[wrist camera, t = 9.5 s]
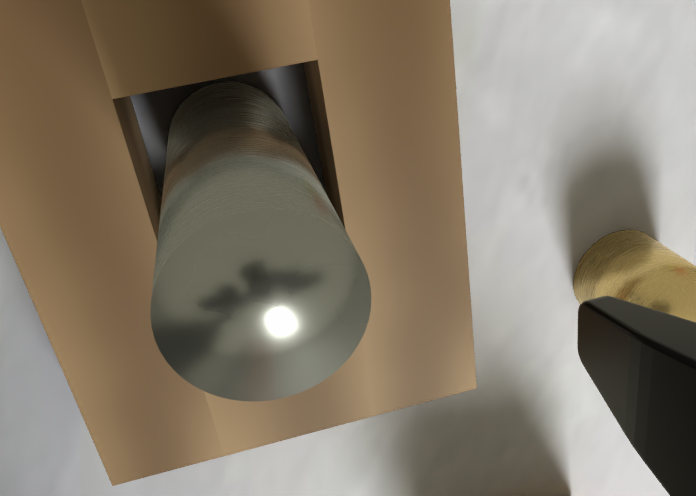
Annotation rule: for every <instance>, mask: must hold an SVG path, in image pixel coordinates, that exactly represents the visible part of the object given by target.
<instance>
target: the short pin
mask: <svg viewBox="0 0 696 496" xmlns="http://www.w3.org/2000/svg"><path fill="white" fill-rule="evenodd" d="M573 287H574V293H575V296H576V299H577V300H578V302H579V303H580V304H581V303H582V302H584V301H586V300H590V299H594V298H598V297H602V296H612V297H615V298H618V299H621V300H625V301H628V302H631V303H634V304H638V305H641V306H644V307H647V308H651V309H654V310H657V311H661V312H664V313H667V314H670V315H674V316H677V317H680V318H683V319H687V320H690V321H693V322H696V266H694V265H693V264H691V263H690V262H688V261H687V260H685V259H684V258H682V257H681V256H679V255H678V254H676V253H674V252H673V251H671V250H670V249H668V248H667V247H665V246H664V245H662V244H661V243H659V242H658V241H656V240H654V239H653V238H651V237H650V236H648V235H647V234H645V233H643V232H641V231H637V230H622V231H618V232H614V233H612V234H609V235H607V236H605V237H603V238H602V239H600V240H599V241H597V242H596V243H595V244H594V245H593V246H592V247H591V248H590V249H589V250H588V251H587V252H586V253H585V254H584V256H583V257H582V259H581V260H580V262H579V264H578V266H577V269H576V272H575V275H574V282H573Z"/></svg>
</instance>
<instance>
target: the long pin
mask: <svg viewBox="0 0 696 496" xmlns="http://www.w3.org/2000/svg"><path fill="white" fill-rule="evenodd" d="M370 312H371V286H370V282H369V278H368V274H367V271H366V269H365V266H364V264H363V262H362V260H361V258H360V256H359V254H358V252H357V251H356V249H355V247H354V245H353V243H352V241H351V239H350V237H349V236H348V234H347V232H346V230H345V228H344V226H343V224H342V222H341V221H340V219H339V217H338V215H337V213H336V211H335V209H334V207H333V206H332V204H331V202H330V200H329V198H328V196H327V194H326V192H325V191H324V189H323V187H322V185H321V183H320V181H319V179H318V178H317V176H316V174H315V172H314V170H313V168H312V166H311V164H310V163H309V161H308V159H307V157H306V155H305V153H304V151H303V149H302V148H301V146H300V144H299V142H298V140H297V138H296V136H295V134H294V133H293V131H292V129H291V127H290V125H289V123H288V121H287V119H286V118H285V116H284V114H283V112H282V111H281V109H280V108H279V106H278V105H277V104H276V103H275V102H274V101H273V100H272V99H271V98H270V97H269V96H268V95H267V94H265V93H264V92H262V91H261V90H259V89H257V88H255V87H252V86H250V85H247V84H243V83H237V82H220V83H214V84H211V85H207V86H205V87H203V88H200V89H199V90H197V91H195V92H194V93H192V94H191V95H190V96H189V97H187V98H186V99H185V100H184V101H183V102H182V104H181V105H180V106H179V108H178V109H177V111H176V113H175V115H174V116H173V119H172V122H171V125H170V130H169V137H168V146H167V156H166V165H165V175H164V184H163V193H162V203H161V212H160V221H159V231H158V240H157V250H156V259H155V268H154V278H153V287H152V297H151V310H150V317H151V327H152V331H153V335H154V339H155V341H156V343H157V346H158V348H159V350H160V352H161V354H162V355H163V357H164V358H165V360H166V362H167V363H168V364H169V365H170V366H171V367H172V369H173V370H174V371H175V372H176V373H177V374H179V375H180V376H181V377H182V378H183V379H184V380H186V381H187V382H189V383H190V384H192V385H193V386H195V387H197V388H199V389H201V390H203V391H205V392H207V393H210V394H212V395H215V396H218V397H222V398H226V399H231V400H238V401H268V400H275V399H280V398H285V397H288V396H292V395H295V394H298V393H300V392H303V391H305V390H307V389H310V388H312V387H313V386H315V385H317V384H319V383H320V382H322V381H324V380H325V379H326V378H328V377H329V376H331V375H332V374H333V373H334V372H336V371H337V370H338V369H339V368H340V367H341V366H342V365H343V364H344V363H345V362H346V361H347V360H348V358H349V357H350V356H351V355H352V353H353V352H354V351H355V349H356V348H357V346H358V345H359V343H360V341H361V339H362V337H363V335H364V333H365V330H366V327H367V324H368V321H369V316H370Z"/></svg>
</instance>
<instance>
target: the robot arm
mask: <svg viewBox="0 0 696 496" xmlns="http://www.w3.org/2000/svg"><path fill="white" fill-rule="evenodd" d="M578 353H579V356H580V359H581V362H582V364H583V365H584V367H585V369H586V370H587V372H588V374H589V375H590V377H591V379H592V380H593V382H594V384H595V385H596V387H597V389H598V390H599V392H600V393H601V395H602V397H603V398H604V400H605V402H606V403H607V405H608V407H609V408H610V410H611V412H612V413H613V415H614V417H615V418H616V420H617V422H618V423H619V425H620V426H621V428H622V430H623V431H624V433H625V435H626V436H627V438H628V439H629V441H630V442H631V444H632V445H633V447H634V448H635V450H636V451H637V453H638V454H639V455H640V457H641V458H642V459H643V461H644V462H645V463H646V465H647V466H648V467H649V469H650V470H651V471H652V473H653V474H654V475H655V476H656V478H657V479H658V480H659V482H660V483H661V484H662V486H663V487H664V488H665V490H666V491H667V492H668V493H669V495H670V496H696V322H693V321H690V320H687V319H683V318H680V317H677V316H674V315H670V314H667V313H664V312H661V311H657V310H654V309H651V308H647V307H644V306H641V305H638V304H634V303H631V302H628V301H625V300H621V299H618V298H615V297H612V296H602V297H598V298H594V299H590V300H586V301H584V302H582V303H581V304H580V306H579V310H578Z"/></svg>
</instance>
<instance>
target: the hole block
mask: <svg viewBox="0 0 696 496" xmlns="http://www.w3.org/2000/svg"><path fill="white" fill-rule="evenodd" d="M298 63H303V64H304V70H305V75H306V81H307V87H308V93H309V98H310V104H311V110H312V116H313V121H314V127H315V133H316V139H317V144H318V150H319V156H320V162H321V168H322V173H323V179H324V185H325V191H326V194H327V196H328V198H329V200H330V202H331V204H332V206H333V207H334V209H335V211H336V213H337V215H338V217H339V219H340V221H341V222H342V224H343V226H344V228H345V230H346V232H347V234H348V236H349V237H350V239H351V241H352V243H353V245H354V247H355V249H356V251H357V252H358V254H359V256H360V258H361V260H362V262H363V264H364V266H365V269H366V271H367V274H368V278H369V282H370V286H371V312H370V316H369V321H368V324H367V327H366V330H365V333H364V335H363V337H362V339H361V341H360V343H359V345H358V346H357V348H356V349H355V351H354V352H353V353H352V355H351V356H350V357H349V358H348V360H347V361H346V362H345V363H344V364H343V365H342V366H341V367H340V368H339V369H338V370H337V371H336V372H334V373H333V374H332V375H331V376H329V377H328V378H326V379H325V380H324V381H322V382H320V383H319V384H317V385H315V386H313V387H312V388H310V389H307V390H305V391H303V392H300V393H298V394H295V395H292V396H288V397H285V398H280V399H275V400H268V401H238V400H231V399H226V398H222V397H218V396H215V395H212V394H210V393H207V392H205V391H203V390H201V389H199V388H197V387H195V386H193V385H192V384H190V383H189V382H187V381H186V380H184V379H183V378H182V377H181V376H180V375H179V374H177V373H176V372H175V371H174V370H173V369H172V367H171V366H170V365H169V364H168V363H167V362H166V360H165V358H164V357H163V355H162V354H161V352H160V350H159V348H158V346H157V343H156V341H155V339H154V335H153V331H152V327H151V317H150V310H151V297H152V287H153V278H154V268H155V259H156V250H157V240H158V231H159V221H160V212H161V203H162V201H161V197H160V194H159V191H158V187H157V184H156V181H155V177H154V174H153V171H152V168H151V164H150V161H149V158H148V154H147V151H146V148H145V144H144V141H143V138H142V134H141V131H140V128H139V124H138V121H137V118H136V114H135V111H134V108H133V104H132V101H131V98H130V96H131V95H137V94H142V93H147V92H152V91H157V90H163V89H168V88H173V87H178V86H183V85H189V84H194V83H199V82H204V81H209V80H215V79H220V78H225V77H230V76H235V75H241V74H246V73H251V72H256V71H261V70H267V69H272V68H277V67H282V66H287V65H292V64H298ZM0 227H1V229H2V232H3V234H4V236H5V239H6V241H7V243H8V246H9V248H10V250H11V252H12V255H13V257H14V259H15V262H16V264H17V266H18V269H19V271H20V273H21V276H22V278H23V280H24V282H25V285H26V287H27V289H28V292H29V294H30V296H31V299H32V301H33V303H34V306H35V308H36V310H37V312H38V315H39V317H40V319H41V322H42V324H43V326H44V329H45V331H46V333H47V336H48V338H49V340H50V342H51V345H52V347H53V349H54V352H55V354H56V356H57V359H58V361H59V363H60V366H61V368H62V370H63V372H64V375H65V377H66V379H67V382H68V384H69V386H70V389H71V391H72V393H73V396H74V398H75V400H76V402H77V405H78V407H79V409H80V412H81V414H82V416H83V419H84V421H85V423H86V426H87V428H88V430H89V432H90V435H91V437H92V439H93V442H94V444H95V446H96V449H97V451H98V453H99V456H100V458H101V460H102V462H103V465H104V467H105V469H106V472H107V474H108V476H109V479H110V481H111V483H112V486H114V485H117V484H121V483H125V482H129V481H132V480H136V479H140V478H144V477H147V476H151V475H155V474H159V473H162V472H166V471H170V470H174V469H177V468H181V467H185V466H189V465H192V464H196V463H200V462H204V461H207V460H211V459H215V458H218V457H222V456H226V455H230V454H233V453H237V452H241V451H245V450H248V449H252V448H256V447H260V446H263V445H267V444H271V443H275V442H278V441H282V440H286V439H290V438H293V437H297V436H301V435H305V434H308V433H312V432H316V431H319V430H323V429H327V428H331V427H334V426H338V425H342V424H346V423H349V422H353V421H357V420H361V419H364V418H368V417H372V416H376V415H379V414H383V413H387V412H391V411H394V410H398V409H402V408H406V407H409V406H413V405H417V404H421V403H424V402H428V401H432V400H435V399H439V398H443V397H447V396H450V395H454V394H458V393H462V392H465V391H469V390H473V389H477V386H476V371H475V357H474V342H473V328H472V313H471V299H470V284H469V270H468V255H467V241H466V226H465V212H464V197H463V183H462V169H461V154H460V140H459V125H458V111H457V96H456V82H455V67H454V53H453V38H452V24H451V9H450V0H0Z"/></svg>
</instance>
